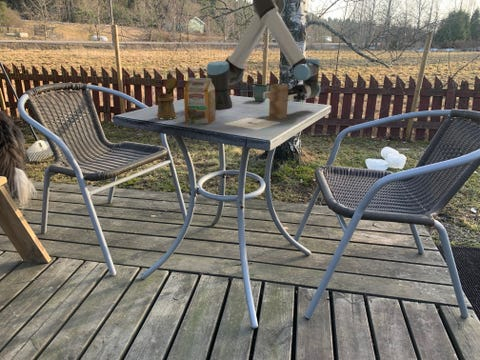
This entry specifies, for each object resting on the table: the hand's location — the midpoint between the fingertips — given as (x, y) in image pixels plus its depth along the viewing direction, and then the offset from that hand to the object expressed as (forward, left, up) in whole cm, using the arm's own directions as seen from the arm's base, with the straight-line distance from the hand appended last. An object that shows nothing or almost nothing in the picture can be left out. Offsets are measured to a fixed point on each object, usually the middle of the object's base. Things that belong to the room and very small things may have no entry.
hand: (276, 97), depth 169 cm
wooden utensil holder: (-41, -29, -10) cm, 51 cm away
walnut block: (0, +2, -10) cm, 10 cm away
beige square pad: (-2, -15, -10) cm, 18 cm away
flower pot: (-37, +39, -10) cm, 55 cm away
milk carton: (-22, -27, -10) cm, 36 cm away
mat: (0, +2, -10) cm, 10 cm away
